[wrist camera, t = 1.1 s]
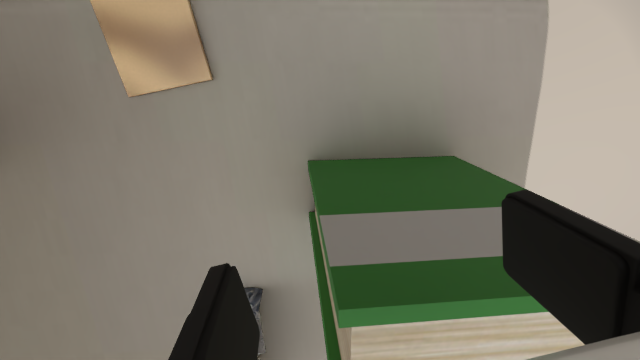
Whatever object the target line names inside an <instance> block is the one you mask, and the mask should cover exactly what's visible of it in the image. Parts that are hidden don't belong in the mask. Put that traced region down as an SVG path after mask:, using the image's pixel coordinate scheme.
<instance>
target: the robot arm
mask: <svg viewBox="0 0 640 360" xmlns="http://www.w3.org/2000/svg"><path fill="white" fill-rule="evenodd" d="M502 246H503V267H504V269H505V271H506V273H507V274H508V275H509V276H510V277H511V278H512V279H513V280H514V281H515V282H516V283H518V284H519V285H520V286H521V287H522V288H523V289H524V290H525V291H526V292H527V293H529V294H530V295H531V296H532V297H533V298H534V299H535V300H536V301H537V302H538V303H540V304H541V305H542V306H543V307H544V308H545V309H546V310H547V311H548V312H550V313H551V314H552V315H553V316H554V317H555V318H556V319H557V320H558V321H559V322H561V323H562V324H563V325H564V326H565V327H566V328H567V329H568V330H569V331H570V332H572V333H573V334H574V335H575V336H576V337H577V338H578V339H579V340H580V341H581V342H583V343H584V344H585V345H583V346H579V347H575V348H571V349H567V350H563V351H558V352H554V353H550V354H546V355H542V356H538V357H534V358H530V359H526V360H640V243H639V242H637V241H635V240H632V239H630V238H628V237H626V236H624V235H622V234H620V233H618V232H616V231H613V230H611V229H609V228H607V227H605V226H603V225H601V224H599V223H597V222H594V221H592V220H590V219H588V218H586V217H584V216H582V215H580V214H577V213H575V212H573V211H571V210H569V209H567V208H565V207H563V206H561V205H558V204H556V203H554V202H552V201H550V200H548V199H546V198H544V197H542V196H539V195H537V194H535V193H533V192H531V191H528V190H521V191H517V192H513V193H509V194H507V195H506V197H505V199H503V200H502ZM259 340H260V331H259V326H258V323H257V321H256V318H255V315H254V313H253V310H252V308H251V305H250V302H249V300H248V297H247V294H246V292H245V289H244V287H243V284H242V281H241V279H240V276H239V274H238V271H237V269H236V267H235V266H232V267H231V266H230V265H229V264H228V263H226V264H222V265H218V266H214V267H211V268H210V269H209V271H208V274H207V276H206V278H205V281H204V283H203V285H202V288H201V290H200V292H199V295H198V297H197V299H196V302H195V304H194V306H193V309H192V311H191V313H190V314H189V315H188V317H187V318H186V321H185V323H184V325H183V327H182V330H181V332H180V334H179V337H178V339H177V341H176V343H175V346H174V348H173V350H172V353H171V355H170V357H169V359H168V360H257V356H258V348H259Z"/></svg>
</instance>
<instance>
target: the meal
mask: <svg viewBox="0 0 640 360" xmlns="http://www.w3.org/2000/svg"><path fill="white" fill-rule="evenodd" d="M244 289H245V292H246V294H247V297H248V300H249V302H250V305H251V308H252V310H253V313H254V315H255V318H256V321H257V323H258V326H259V331H260V340H259V348H258V356H259V355H260V354H261V353H266V348H265V342H264V338H263V331H262V325H261V316H260V314H259V305H260V300H261V296H262V289H259V288H244Z"/></svg>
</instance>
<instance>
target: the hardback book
mask: <svg viewBox="0 0 640 360" xmlns="http://www.w3.org/2000/svg"><path fill="white" fill-rule="evenodd" d="M308 170H309V176H310V181H311V186H312V191H313V196H314V202H315V212H309V220H310V228H311V236H312V244H313V251H314V259H315V267H316V274H317V282H318V290H319V298H320V305H321V313H322V321H323V329H324V336H325V344H326V352H327V359H328V360H526V359H530V358H534V357H538V356H542V355H546V354H550V353H554V352H558V351H563V350H567V349H571V348H575V347H579V346H583V345H585V344H584V343H583V342H581V341H580V340H579V339H578V338H577V337H576V336H575V335H574V334H573V333H572V332H570V331H569V330H568V329H567V328H566V327H565V326H564V325H563V324H562V323H561V322H559V321H558V320H557V319H556V318H555V317H554V316H553V315H552V314H551V313H550V312H548V311H547V310H546V309H545V308H544V307H543V306H542V305H541V304H540V303H538V302H537V301H536V300H535V299H534V298H533V297H532V296H531V295H530V294H529V293H527V292H526V291H525V290H524V289H523V288H522V287H521V286H520V285H519V284H518V283H516V282H515V281H514V280H513V279H512V278H511V277H510V276H509V275H508V274H507V273H506V271H505V269H504V267H503V246H502V200H503V199H505V197H506V195H507V194H509V193H513V192H517V191H521V190H527V189H524V188H522V187H520V186H518V185H516V184H514V183H511V182H509V181H507V180H505V179H503V178H501V177H498V176H496V175H494V174H492V173H490V172H487V171H485V170H483V169H481V168H479V167H477V166H474V165H472V164H470V163H468V162H466V161H464V160H461V159H459V158H457V157H455V156H442V157H411V158H379V159H348V160H317V161H308ZM539 196H540V195H539ZM552 202H553V201H552ZM554 203H555V202H554ZM556 204H557V203H556ZM558 205H559V204H558ZM563 207H564V206H563ZM565 208H566V207H565ZM567 209H568V208H567ZM569 210H570V209H569ZM571 211H572V210H571ZM573 212H574V211H573ZM575 213H577V212H575ZM577 214H579V213H577ZM580 215H581V214H580ZM582 216H583V215H582ZM584 217H585V216H584ZM586 218H587V217H586ZM588 219H590V218H588ZM590 220H592V219H590ZM592 221H594V220H592ZM594 222H596V221H594ZM597 223H598V222H597ZM599 224H600V223H599ZM601 225H603V224H601ZM603 226H605V225H603ZM605 227H607V226H605ZM607 228H609V227H607ZM609 229H611V228H609ZM611 230H613V229H611ZM613 231H616V230H613ZM616 232H618V231H616ZM618 233H620V232H618ZM620 234H622V233H620ZM622 235H624V234H622ZM624 236H626V237H628V238H630V239H632V240H635V239H633V238H631V237H629V236H627V235H624ZM635 241H637V240H635ZM637 242H639V241H637ZM639 243H640V242H639Z"/></svg>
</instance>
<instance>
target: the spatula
mask: <svg viewBox="0 0 640 360" xmlns="http://www.w3.org/2000/svg"><path fill="white" fill-rule="evenodd" d="M90 1H91V4H92V6H93V9H94V11H95V14H96V16H97V19H98V21H99V24H100V26H101V29H102V31H103V34H104V36H105V39H106V41H107V44H108V46H109V49H110V52H111V54H112V57H113V59H114V62H115V64H116V67H117V69H118V72H119V74H120V77H121V79H122V82H123V84H124V87H125V89H126V92H127V94H128V97H134V96H139V95H143V94H148V93H153V92H157V91H162V90H167V89H171V88H176V87H181V86H185V85H190V84H195V83H199V82H204V81H209V80H213V77H212V74H211V71H210V67H209V64H208V61H207V58H206V54H205V51H204V48H203V44H202V41H201V38H200V35H199V31H198V28H197V25H196V21H195V18H194V15H193V12H192V8H191V5H190V2H189V0H90Z"/></svg>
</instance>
